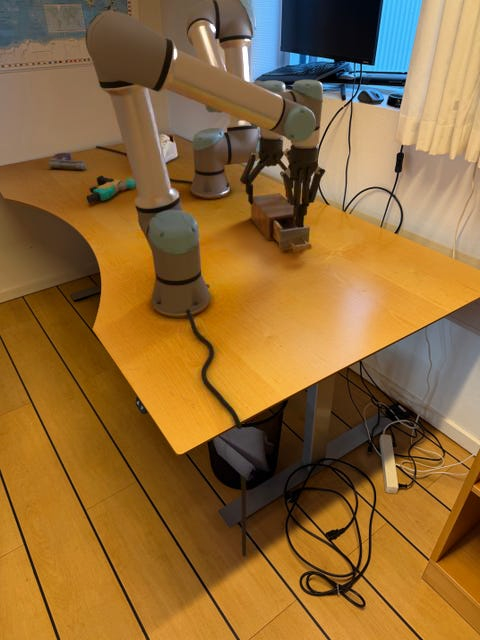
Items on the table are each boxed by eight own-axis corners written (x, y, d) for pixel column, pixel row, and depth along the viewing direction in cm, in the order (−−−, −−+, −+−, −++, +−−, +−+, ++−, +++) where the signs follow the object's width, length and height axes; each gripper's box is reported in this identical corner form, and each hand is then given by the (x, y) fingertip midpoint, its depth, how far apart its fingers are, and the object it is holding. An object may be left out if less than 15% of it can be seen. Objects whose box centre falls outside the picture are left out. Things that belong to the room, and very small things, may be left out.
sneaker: (133, 173, 208) (129, 144, 201) (161, 153, 230) (158, 127, 223) (155, 175, 205) (151, 146, 198) (180, 155, 227) (178, 129, 220)
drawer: (317, 254, 144) (318, 235, 141) (287, 259, 142) (288, 240, 138) (288, 223, 162) (289, 206, 159) (262, 227, 160) (262, 210, 156)
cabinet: (299, 235, 157) (300, 213, 152) (268, 240, 154) (269, 217, 149) (279, 214, 171) (279, 192, 166) (250, 218, 168) (250, 196, 164)
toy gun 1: (97, 161, 222) (82, 172, 210) (61, 159, 225) (44, 169, 213) (96, 153, 220) (81, 163, 208) (59, 151, 223) (42, 161, 211)
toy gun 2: (64, 190, 179) (94, 197, 174) (109, 170, 198) (138, 176, 192) (66, 201, 182) (96, 209, 176) (111, 181, 200) (139, 187, 195)
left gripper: (320, 138, 132) (313, 218, 146) (276, 143, 129) (274, 223, 143) (332, 146, 126) (324, 228, 140) (287, 151, 123) (283, 234, 137)
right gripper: (303, 129, 155) (298, 191, 168) (230, 136, 149) (231, 200, 162) (312, 135, 149) (307, 199, 162) (237, 143, 144) (237, 209, 156)
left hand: (299, 225), depth 141 cm, fingers closed
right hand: (269, 200), depth 162 cm, fingers open, 13 cm apart
